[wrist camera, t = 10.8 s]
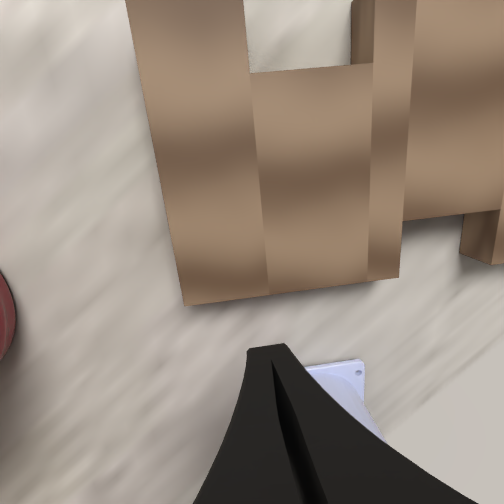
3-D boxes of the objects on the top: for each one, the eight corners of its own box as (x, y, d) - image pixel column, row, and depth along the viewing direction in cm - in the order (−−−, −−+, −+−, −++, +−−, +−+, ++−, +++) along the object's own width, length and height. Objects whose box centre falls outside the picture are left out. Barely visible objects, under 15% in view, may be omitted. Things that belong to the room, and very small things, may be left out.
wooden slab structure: (550, 241, 20) (594, 251, 18) (189, 288, 19) (184, 306, 16) (611, -16, 16) (679, -48, 13) (139, 17, 14) (122, -13, 12)
